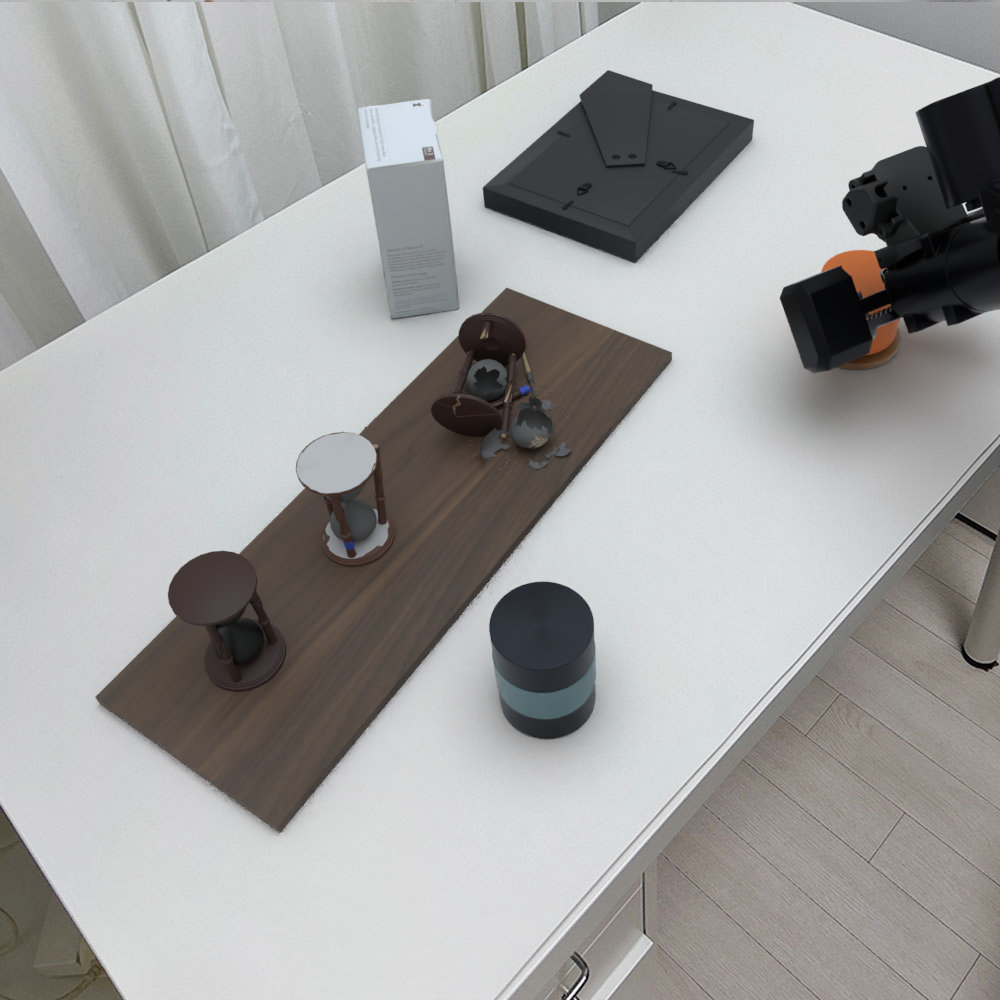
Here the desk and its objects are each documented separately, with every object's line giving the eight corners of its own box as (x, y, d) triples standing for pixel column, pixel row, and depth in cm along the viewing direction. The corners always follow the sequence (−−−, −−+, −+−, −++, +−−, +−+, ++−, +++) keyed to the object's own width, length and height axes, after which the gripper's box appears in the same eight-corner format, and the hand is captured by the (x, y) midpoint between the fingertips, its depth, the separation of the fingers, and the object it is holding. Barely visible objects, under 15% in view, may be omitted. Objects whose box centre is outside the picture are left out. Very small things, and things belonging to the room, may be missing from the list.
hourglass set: (671, 360, 85) (676, 272, 78) (280, 832, 63) (241, 765, 56) (507, 295, 91) (499, 208, 85) (99, 703, 69) (45, 629, 63)
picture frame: (608, 96, 109) (484, 207, 99) (607, 69, 107) (481, 180, 97) (752, 139, 102) (635, 262, 92) (755, 112, 100) (635, 235, 90)
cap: (913, 339, 83) (927, 286, 79) (843, 366, 82) (854, 314, 78) (863, 292, 87) (874, 240, 83) (795, 317, 85) (804, 266, 81)
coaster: (890, 306, 87) (891, 300, 86) (907, 368, 82) (909, 362, 82) (799, 309, 87) (800, 303, 87) (811, 371, 83) (812, 365, 82)
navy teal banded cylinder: (595, 654, 69) (594, 579, 63) (597, 740, 65) (595, 670, 59) (501, 654, 69) (490, 580, 63) (497, 740, 65) (485, 670, 59)
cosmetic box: (382, 261, 95) (352, 104, 84) (451, 250, 96) (430, 92, 84) (392, 324, 90) (360, 166, 78) (465, 312, 90) (444, 153, 79)
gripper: (1064, 95, 70) (912, 162, 85) (817, 188, 66) (704, 241, 81) (1116, 262, 71) (957, 299, 86) (877, 364, 67) (755, 384, 82)
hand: (846, 302), depth 84 cm, fingers closed on cap, 6 cm apart
